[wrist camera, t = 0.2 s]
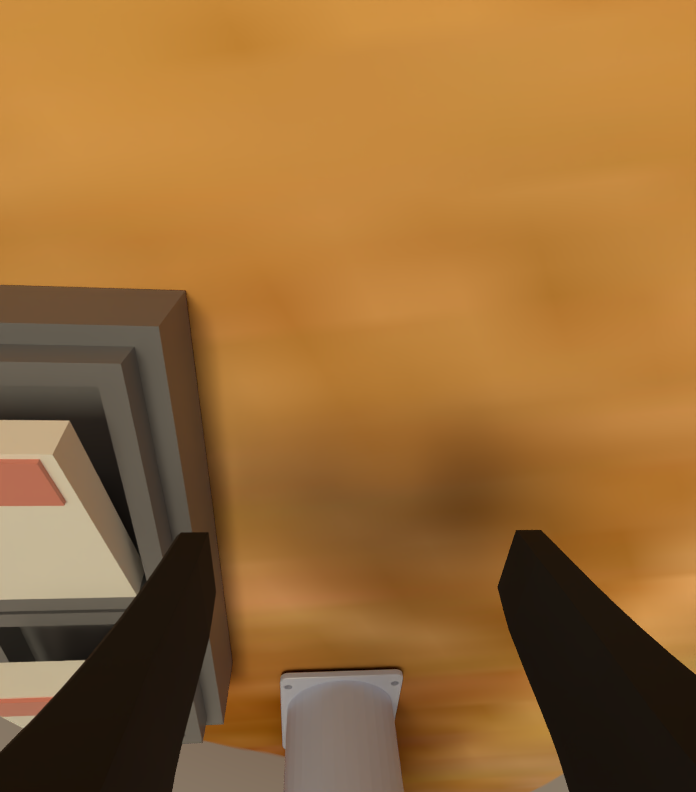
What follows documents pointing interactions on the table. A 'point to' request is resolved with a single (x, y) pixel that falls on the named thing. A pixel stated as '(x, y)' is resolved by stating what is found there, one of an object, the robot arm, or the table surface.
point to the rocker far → (31, 687)
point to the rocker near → (58, 519)
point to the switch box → (115, 451)
